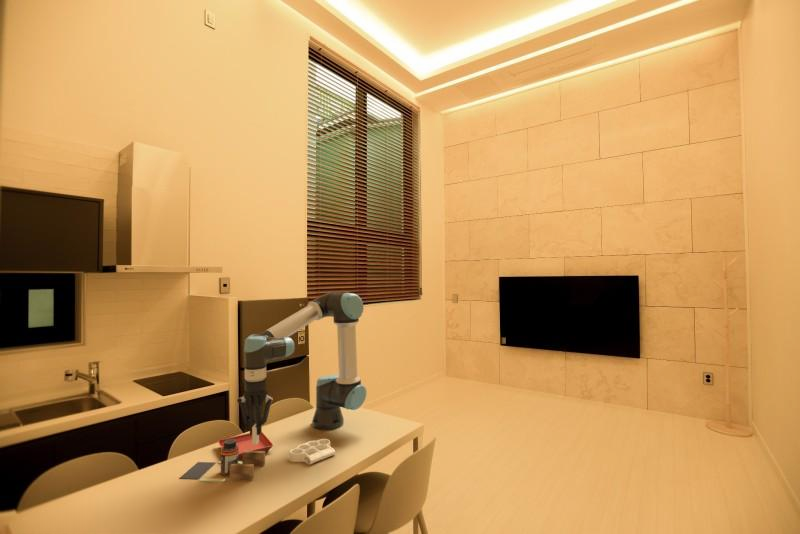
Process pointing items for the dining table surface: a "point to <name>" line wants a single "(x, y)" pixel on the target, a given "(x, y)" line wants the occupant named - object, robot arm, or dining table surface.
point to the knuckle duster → (312, 451)
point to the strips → (215, 479)
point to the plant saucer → (249, 443)
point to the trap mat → (197, 470)
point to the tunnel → (247, 466)
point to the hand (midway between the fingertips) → (255, 443)
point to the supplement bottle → (229, 456)
